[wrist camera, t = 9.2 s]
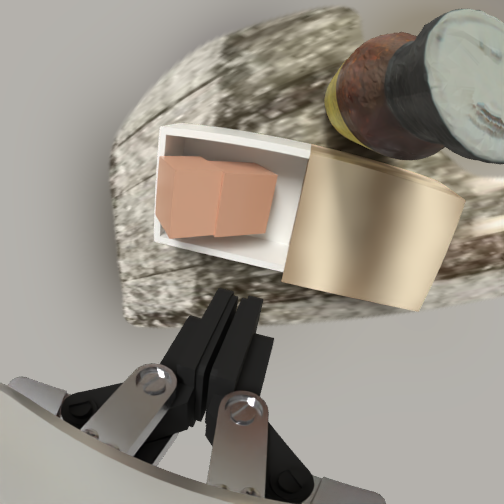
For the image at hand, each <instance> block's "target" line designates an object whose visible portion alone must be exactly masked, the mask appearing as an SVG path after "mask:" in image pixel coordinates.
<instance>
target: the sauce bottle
mask: <svg viewBox="0 0 504 504" xmlns="http://www.w3.org/2000/svg"><path fill="white" fill-rule="evenodd" d="M325 108H326V112H327V115H328V118H329V120H330V122H331V124H332V125H333V126H334V127H335V129H336V130H337V131H338V132H339V133H340V134H342V135H343V136H344V137H346V138H348V139H349V140H351V141H353V142H356V143H358V144H360V145H362V146H364V147H366V148H368V149H371V150H373V151H375V152H377V153H379V154H382V155H384V156H387V157H390V158H395V159H399V160H418V159H423V158H426V157H429V156H431V155H434V154H436V153H437V152H439V151H440V150H442V149H443V148H444V147H446V148H448V149H449V150H451V151H452V152H454V153H456V154H458V155H460V156H462V157H465V158H468V159H473V160H479V161H482V162H486V163H496V164H504V23H502V22H501V21H500V20H499V19H497V18H495V17H493V16H490V15H488V14H486V13H484V12H483V11H480V10H472V9H457V10H452V11H450V12H447V13H445V14H443V15H441V16H439V17H437V18H435V19H434V20H433V21H431V22H430V23H428V24H426V25H424V27H423V29H422V31H421V32H420V33H419V35H418V36H414V35H411V34H408V33H404V32H399V33H393V34H385V35H380V36H378V37H375V38H372V39H370V40H368V41H366V42H365V43H363V44H362V45H361V46H360V47H359V48H357V49H356V50H355V52H354V53H353V54H352V55H351V56H350V57H349V58H348V59H347V60H345V62H344V63H343V65H342V66H341V68H340V69H339V70H338V72H337V73H336V75H335V76H334V77H333V79H332V80H331V82H330V84H329V86H328V88H327V91H326V94H325Z"/></svg>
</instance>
